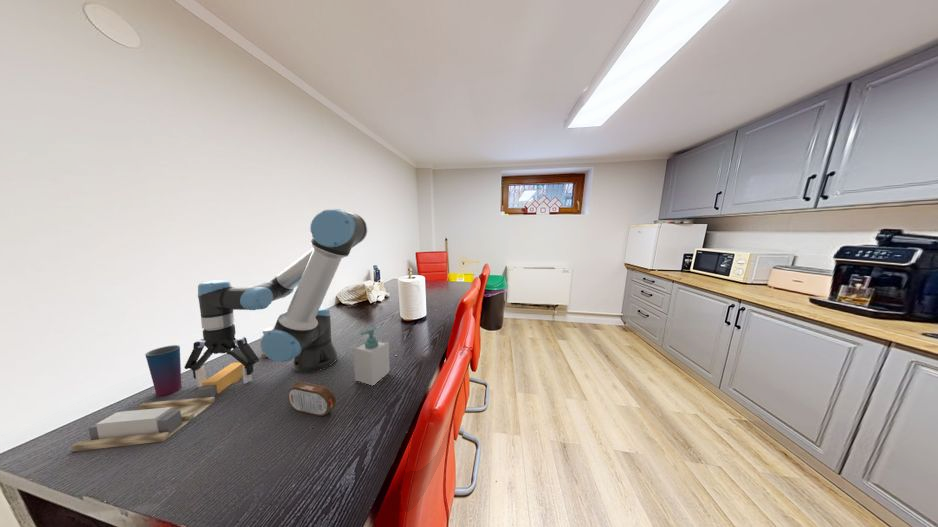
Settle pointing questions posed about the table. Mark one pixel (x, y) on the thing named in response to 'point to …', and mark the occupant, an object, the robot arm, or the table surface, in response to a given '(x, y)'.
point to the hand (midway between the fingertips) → (225, 384)
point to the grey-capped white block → (136, 423)
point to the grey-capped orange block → (221, 380)
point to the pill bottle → (263, 335)
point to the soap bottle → (371, 359)
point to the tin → (311, 398)
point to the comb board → (188, 412)
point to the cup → (165, 369)
